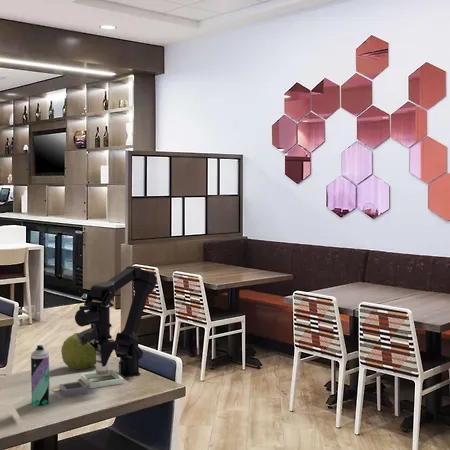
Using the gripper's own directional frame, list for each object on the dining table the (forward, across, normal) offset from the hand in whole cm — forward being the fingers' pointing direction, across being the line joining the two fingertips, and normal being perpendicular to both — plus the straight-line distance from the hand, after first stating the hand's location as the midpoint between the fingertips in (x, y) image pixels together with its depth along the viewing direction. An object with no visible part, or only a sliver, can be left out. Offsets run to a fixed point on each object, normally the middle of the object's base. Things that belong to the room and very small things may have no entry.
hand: (101, 364), depth 230 cm
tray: (+7, 0, 0) cm, 7 cm away
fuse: (+3, 0, 0) cm, 3 cm away
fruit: (+8, -24, 0) cm, 25 cm away
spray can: (+7, +13, -24) cm, 28 cm away
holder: (+7, +7, -12) cm, 16 cm away
